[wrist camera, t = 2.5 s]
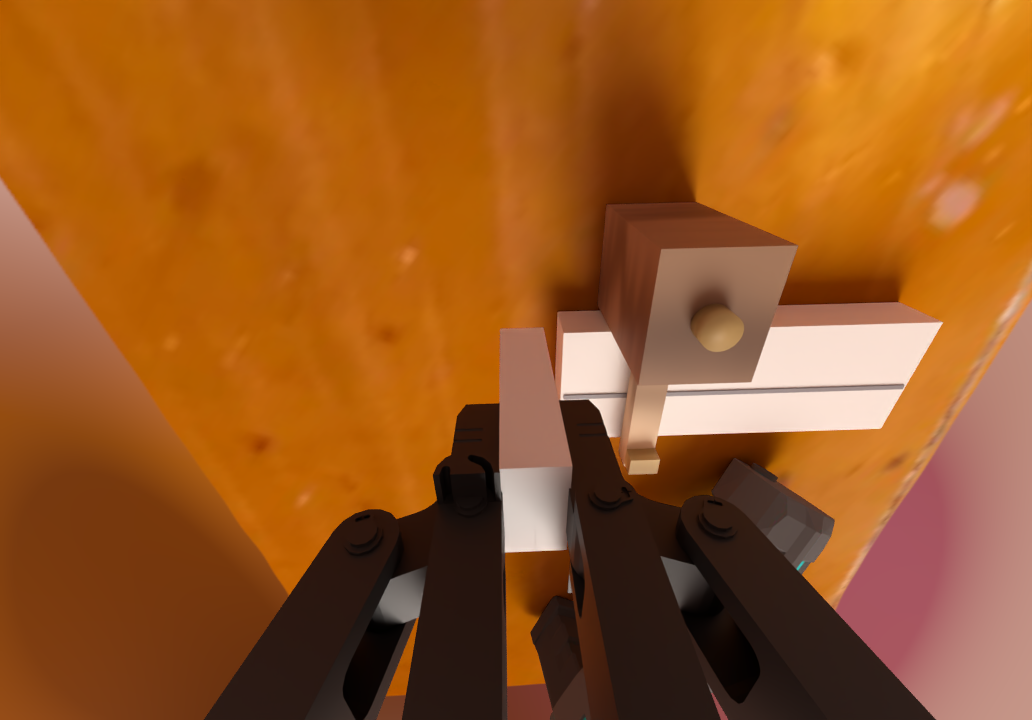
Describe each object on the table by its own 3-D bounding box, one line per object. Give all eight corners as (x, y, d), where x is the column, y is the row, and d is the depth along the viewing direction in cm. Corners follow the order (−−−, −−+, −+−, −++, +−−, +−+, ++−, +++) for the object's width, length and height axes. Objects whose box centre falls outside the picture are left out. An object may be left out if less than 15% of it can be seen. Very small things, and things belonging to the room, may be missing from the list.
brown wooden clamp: (606, 204, 22) (671, 257, 14) (696, 202, 22) (816, 253, 14) (586, 420, 30) (619, 540, 22) (652, 418, 30) (711, 537, 22)
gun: (522, 637, 44) (565, 824, 29) (668, 408, 39) (800, 498, 25) (571, 650, 45) (633, 832, 31) (715, 433, 41) (862, 530, 27)
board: (557, 311, 25) (563, 334, 23) (899, 302, 26) (944, 323, 23) (553, 411, 30) (558, 439, 27) (848, 401, 30) (881, 429, 27)
